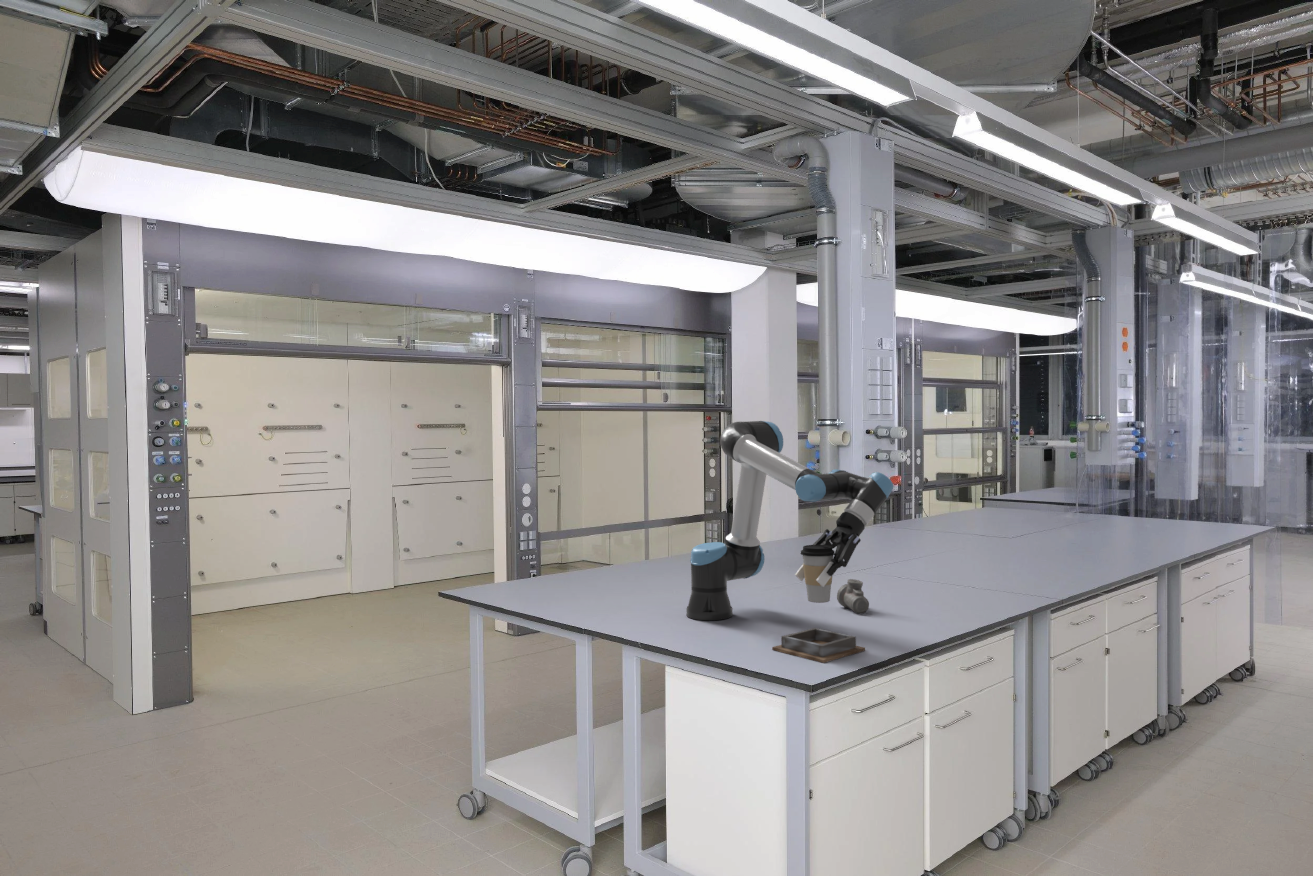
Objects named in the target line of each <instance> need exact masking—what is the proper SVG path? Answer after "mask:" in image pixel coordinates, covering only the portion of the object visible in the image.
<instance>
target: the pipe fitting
mask: <svg viewBox="0 0 1313 876" xmlns="http://www.w3.org/2000/svg"><path fill="white" fill-rule="evenodd" d="M863 584H864V582H863V581H861V580H859V579H853V578H850V579H847V583H846V584H843V585H841V586H840V587H839V588H838V590H837V593H836V600H837V602H838V603H839V605H840V606H842V607H843V608H846V609H849V610H850V609H851V610H852V611H853V612H854V613H855V614H858V615H863V614H865V613H866V612H867V611H868V610H869V607H870V601H869V599H868V598H866V597H865V594H864V591H863V590H862V587H863Z"/></svg>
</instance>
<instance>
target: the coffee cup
mask: <svg viewBox="0 0 1313 876" xmlns="http://www.w3.org/2000/svg"><path fill="white" fill-rule="evenodd" d="M835 551H836V550H834V549H832V546H829V545H813V544H808V545H803V547H802V550H800V555H801V556H802V559H803V560H802V561H803V563H802V564H803V567H804V576H805V578H804V582H805V585H806V586H805V587H806V593H807V594H806V595H807V601H808V602H810V603H816V604H817V603H818V604H822V603H829V602H830V601H831V592H832V591H831V589H832V582H833V575H832V576H831V578H830V579H829V580H828V582H827V583H826V584H825V586H824V587H822V586H821V585H820V584H819V583H818V582H817V581H816V579H817V578H818V577H819V575H820V574H821V573H822V571H823V570H824V569H825V567H826V566H827V565H828V563H829V562H832V561H831V560H832V559H833V558H834V555H835ZM832 563H833V562H832Z"/></svg>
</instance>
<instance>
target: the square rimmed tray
mask: <svg viewBox="0 0 1313 876" xmlns="http://www.w3.org/2000/svg"><path fill="white" fill-rule="evenodd" d="M780 637H781V641H780V642H781V644H779V645H775V646H772V647H771V648H772V649H771V650H772V651H774V652H775V651H776V652H779V653H782V654H787V655H791V656H794V657H799V658H803V659H806V660H811V661H814V662H819V663H823V664H825V663H828V662H831V661H835V660H838V659H841V658H845V657H848V656H851V655H855V654H859V653H862V652H864V651H866V647H864V646H859V645H857V643H856V641H857V638H856V636H854V635H849V634H845V633H839V632H835V631H831V630H825V629H822V628H817V627H812V628H809V629H806V630H801V631H797V632H793V633H789V634H786V635H781V636H780Z"/></svg>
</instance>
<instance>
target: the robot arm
mask: <svg viewBox="0 0 1313 876" xmlns="http://www.w3.org/2000/svg"><path fill="white" fill-rule="evenodd" d="M719 442H720V447H721V449H722V451H723V454H725V455H726V456H727V457H729V458H730V459H732V460H733V461H735V462H737V463H739V464H740V466H741V467H740V472H739V478H738V479H739V480H738V485H737V493H736V498H735V504H734V509H733V510H734V512H733V519H732V523H731V524H732V525H731V530H730V533H729V534H727V535H726V536H725V540H724V542H722V541H712V542H704V543H700V544H697V545H695V546H694V547H692V549H691V551H690V554H691V555H690V575H691V576H690V577H691V581H690V583H691V585H690V586H691V592H690V593H691V594H690V597H689V600H688V605H687V606H686V608H685V609H686V611H685V613H686V617H687V618H689V619H693V620H699V621H722V620H726V619H730V618H732V617H733V606H732V605H731V601H730V598H729V594H728V586H727V585H728V584H727V583H728V582H729V581H735V580H736V581H737V580H740V579H744V580H745V579H749V578H751V577H754V576H756V575H758V574H759V573H760V572H761V571H762V569H763V568H764V564H765V553H764V549H763V547H762V546H761V542H760V540H759V539H758V537H757V536H758V529H759V522H760V516H761V511H762V505H763V504H762V503H763V496H764V492H765V486H766V479H767V475H768V476H769V477H771V478H773V479H774V480H776V481H777V482H779V483H782V484H783V485H784V486H787V487H789V488H791V489H793V490H794V491H795V494H796V495H797V496H798V498H799V499H800V500H801V501H803V502H811V503H815V502H816V503H817V502H820V501H827V500H828V501H829V500H837V499H839V500H840V499H848V500H849V501H850V502H849V503H848V504H847V506H846V507H845V509H844V511H843V512H842V513H841V514H840V515H839V516H838V518H837V520H836V527H835V528H834V529H833V530H829V529H828V528H826V529H825V530H824V532H823V533H822V534H821V536H820V537H819V538H818V539H816V540H815V542H813V543H812V545H829V546H832V550H834V549H835V550H834V551H835V552H834V553H835V555H833V559H832V560H831V561H832V562H833V563H832V562H829V563H828V565H827V566H826V567H825V569H824V570H823V571H822V573H821V574H820V575H819V577H818V578H817V579H816V581H817V582H818V583H819V584H820V585H821V586H822V587H824V586H825V584H826V583H827V582H828V580H829V579H830V578H831V576H832V577H833V576H834V574H835V573H836V572H837V570H838V569H840V568H841V567H843V568H846V567H847V566H848V563H849V562H850V560H851V558H852V556H853V554H854V552H855V550H856V548H857V546H858V544H859V543H860V542H861V538H860V536H861V534H862V533H863V531H864V530H865V528H866V527H867V526H868V525H869V523H870V522H871V521H872V519H873V518H874V516H876V513H877V512H878V510H880V508H881V507H882V505H883V504H885V502H886V501H887V500H888V498H889V496H890V494H891V493H892V492H893V490H894V484H893V482H892V480H891V479H890V478H889V477H888V476H887V475H885V474H884V473H881V472H879V471H876V472H872V473H871V474H870V475H869V476H868V477H865V476H861V475H858V474H855V473H851V472H849V471H847V470H843V469H842V470H841V469H837V468H836V469H835V468H834V469H832V470H831V471H829V472H828V473H818V472H816V471H814V470H812V469H811V468H810V467H807V466H805V465H803V464H801V463H799V462H797V461H796V460H794V459H792V458H790V457H788V456H786V455H784V454H782V453H781V452H782V451H783V448H784V437H783V432H782V431H781V430H780V428H779V427H778V425H777V424H776V423H773V422H772V421H765V420H753V421H734V422H731V423H730V424H728V425H727V426H725V428H724V429H723V430H722V432H721V435H720V441H719ZM794 576H795V577H796V578H798V580H799V581H801V582H803V580H805V576H804V567H803V563H802V564H801V566H800V567H799V568H798V569H797V571H796V573H794Z"/></svg>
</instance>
